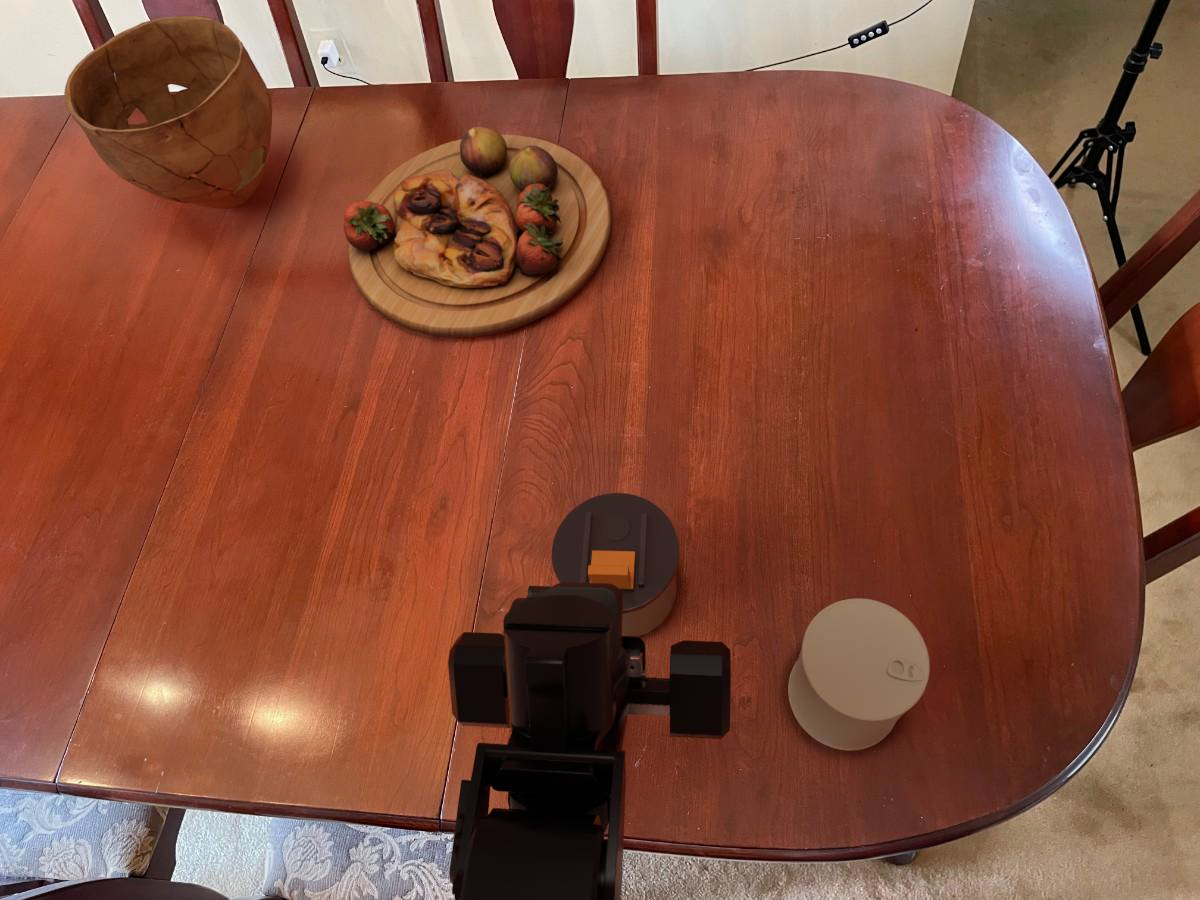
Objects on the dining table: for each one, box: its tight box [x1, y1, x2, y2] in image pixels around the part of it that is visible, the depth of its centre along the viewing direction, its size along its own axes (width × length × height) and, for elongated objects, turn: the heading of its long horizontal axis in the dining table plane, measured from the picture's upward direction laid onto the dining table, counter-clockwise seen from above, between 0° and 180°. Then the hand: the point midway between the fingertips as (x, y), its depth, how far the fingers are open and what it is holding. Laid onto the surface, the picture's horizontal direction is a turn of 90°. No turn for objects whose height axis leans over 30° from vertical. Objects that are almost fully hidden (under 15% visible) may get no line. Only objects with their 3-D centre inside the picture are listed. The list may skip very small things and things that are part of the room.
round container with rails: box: [551, 492, 680, 637], centre depth 75 cm, size 11×11×9 cm
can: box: [787, 597, 931, 752], centre depth 67 cm, size 9×9×12 cm
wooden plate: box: [343, 125, 613, 338], centre depth 99 cm, size 32×32×8 cm
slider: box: [588, 550, 635, 589], centre depth 69 cm, size 3×4×3 cm
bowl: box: [63, 15, 273, 210], centre depth 102 cm, size 21×20×20 cm
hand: (604, 626), depth 65 cm, fingers closed
